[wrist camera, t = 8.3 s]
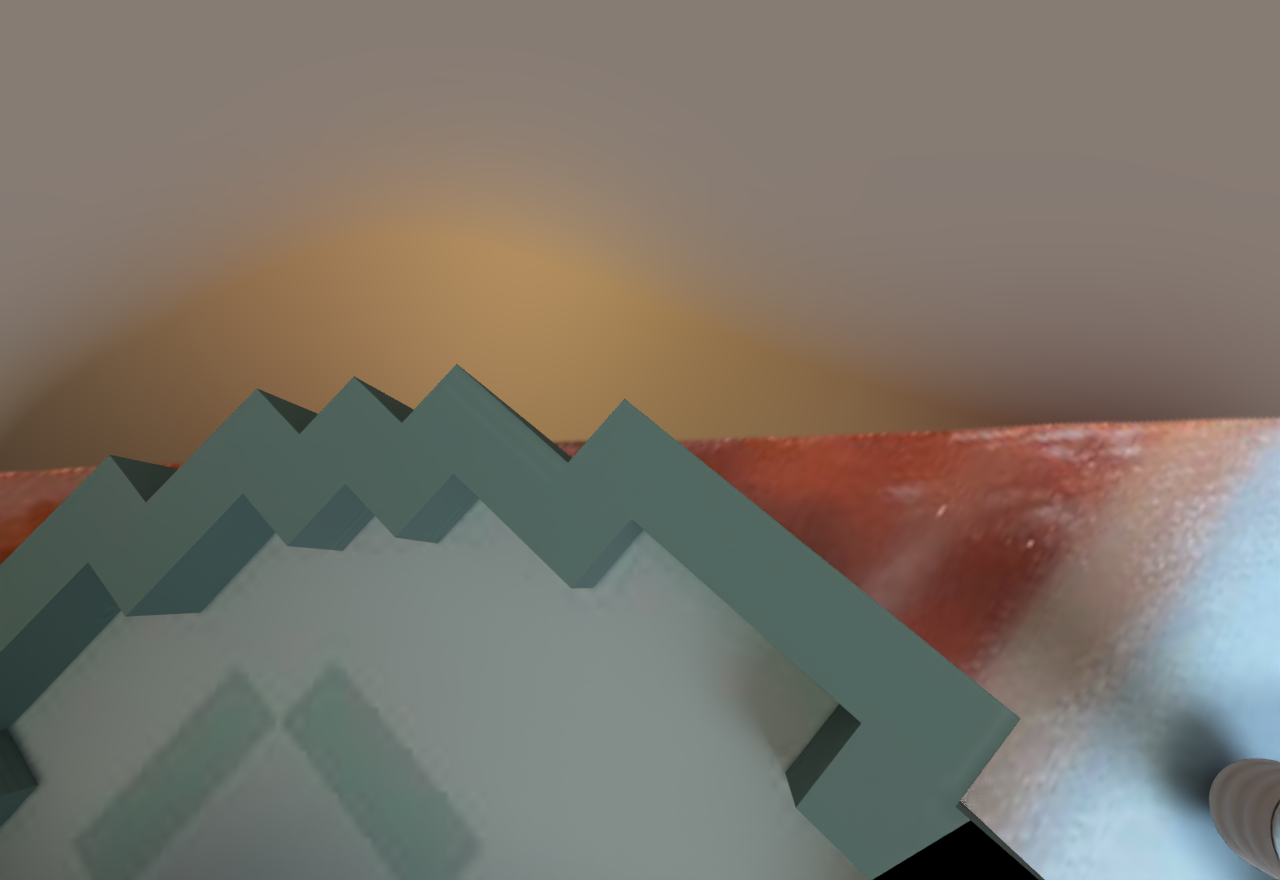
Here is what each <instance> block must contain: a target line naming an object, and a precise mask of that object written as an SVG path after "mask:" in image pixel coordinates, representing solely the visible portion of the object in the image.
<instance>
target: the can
mask: <svg viewBox="0 0 1280 880" xmlns="http://www.w3.org/2000/svg"><path fill="white" fill-rule="evenodd" d="M1019 720H1020V718H1019V717H1018V716H1017V715H1015V714H1014V713H1013V712H1012V711H1010V710H1009V709H1008V708H1007V707H1005V706H1004V705H1003V704H1002V703H1001V702H999V701H998V700H997V699H996V698H994V697H993V696H992V695H991V694H989V693H988V692H987V691H986V690H984V689H983V688H982V687H981V686H979V685H978V684H977V683H976V682H975V681H973V680H972V679H971V678H970V677H968V676H967V675H966V674H965V673H963V672H962V671H961V670H960V669H958V668H957V667H956V666H955V665H953V664H952V663H951V662H950V661H949V660H947V659H946V658H945V657H944V656H942V655H941V654H940V653H939V652H937V651H936V650H935V649H934V648H932V647H931V646H930V645H929V644H927V643H926V642H925V641H924V640H923V639H921V638H920V637H919V636H918V635H916V634H915V633H914V632H913V631H911V630H910V629H909V628H908V627H906V626H905V625H904V624H903V623H901V622H900V621H899V620H898V619H897V618H895V617H894V616H893V615H892V614H890V613H889V612H888V611H887V610H885V609H884V608H883V607H882V606H880V605H879V604H878V603H877V602H876V601H874V600H873V599H872V598H871V597H869V596H868V595H867V594H866V593H864V592H863V591H862V590H861V589H859V588H858V587H857V586H856V585H854V584H853V583H852V582H851V581H850V580H848V579H847V578H846V577H845V576H843V575H842V574H841V573H840V572H838V571H837V570H836V569H835V568H833V567H832V566H831V565H830V564H828V563H827V562H826V561H825V560H824V559H822V558H821V557H820V556H819V555H817V554H816V553H815V552H814V551H812V550H811V549H810V548H809V547H807V546H806V545H805V544H804V543H802V542H801V541H800V540H799V539H798V538H796V537H795V536H794V535H793V534H791V533H790V532H789V531H788V530H786V529H785V528H784V527H783V526H781V525H780V524H779V523H778V522H777V521H775V520H774V519H773V518H772V517H770V516H769V515H768V514H767V513H765V512H764V511H763V510H762V509H760V508H759V507H758V506H757V505H755V504H754V503H753V502H752V501H751V500H749V499H748V498H747V497H746V496H744V495H743V494H742V493H741V492H739V491H738V490H737V489H736V488H734V487H733V486H732V485H731V484H729V483H728V482H727V481H726V480H725V479H723V478H722V477H721V476H720V475H718V474H717V473H716V472H715V471H713V470H712V469H711V468H710V467H708V466H707V465H706V464H705V463H703V462H702V461H701V460H700V459H699V458H697V457H696V456H695V455H694V454H692V453H691V452H690V451H689V450H687V449H686V448H685V447H684V446H682V445H681V444H680V443H679V442H678V441H676V440H675V439H674V438H673V437H671V436H670V435H669V434H667V433H666V432H665V431H664V430H663V429H661V428H660V427H659V426H658V425H656V424H655V423H654V422H653V421H652V420H650V419H649V418H648V417H647V416H645V415H644V414H643V413H642V412H640V411H639V410H638V409H637V408H635V407H634V406H633V405H632V404H630V403H629V402H628V401H627V400H626V399H624V400H623V401H622V402H621V403H620V405H619V406H618V407H617V408H616V409H615V410H614V411H613V412H612V414H611V415H610V416H609V417H608V418H607V420H605V422H604V423H603V424H602V425H601V426H600V427H599V429H597V431H596V432H595V433H594V434H593V435H592V436H591V437H590V438H589V440H588V441H587V442H586V443H585V444H584V445H583V446H582V447H581V449H580V450H579V451H578V452H577V453H576V454H575V455H574V456H573V458H572V457H570V456H569V455H568V454H567V453H565V452H564V451H563V450H562V449H561V448H559V447H558V446H557V445H556V444H554V443H553V442H552V441H551V440H550V439H548V438H547V437H546V436H545V435H543V434H542V433H541V432H539V431H538V430H537V429H536V428H535V427H534V426H532V425H531V424H530V423H528V422H527V421H526V420H525V419H524V418H523V417H521V416H520V415H519V414H518V413H516V412H515V411H514V410H512V409H511V408H510V407H509V406H508V405H507V404H505V403H504V402H503V401H502V400H500V399H499V398H498V397H497V396H495V395H494V394H493V393H492V392H490V391H489V390H488V389H487V388H486V387H484V386H483V385H482V384H481V383H479V382H478V381H477V380H476V379H475V378H473V377H472V376H471V375H470V374H468V373H467V372H466V371H465V370H464V369H462V368H461V367H460V366H459V365H457V364H456V365H455V366H454V368H453V369H452V370H451V371H450V372H449V373H448V374H447V375H446V376H445V377H444V378H443V379H442V380H441V381H440V383H439V384H438V385H437V386H436V387H435V388H434V389H433V390H432V391H431V392H430V393H429V395H428V396H427V397H426V398H425V399H424V400H423V401H422V402H421V403H420V404H419V405H418V406H417V407H416V408H415V409H414V410H413V409H411V408H410V407H408V406H406V405H404V404H402V403H401V402H399V401H397V400H395V399H394V398H392V397H390V396H388V395H386V394H385V393H383V392H381V391H379V390H377V389H376V388H374V387H372V386H370V385H368V384H366V383H365V382H363V381H361V380H359V379H358V378H356V377H353V379H351V380H350V381H349V382H348V384H347V385H346V386H345V387H344V388H343V389H342V390H341V391H340V392H339V393H338V394H337V395H336V396H335V397H334V398H333V399H332V400H331V401H330V402H329V403H328V405H327V406H326V407H325V408H324V409H323V410H322V411H321V412H320V413H319V414H317V413H314V412H312V411H310V410H307V409H305V408H302V407H300V406H298V405H295V404H293V403H290V402H288V401H286V400H283V399H281V398H278V397H276V396H273V395H271V394H269V393H266V392H264V391H262V390H259V389H256V390H255V391H254V392H253V393H252V394H251V395H250V396H249V397H248V398H247V399H246V400H245V401H244V402H243V403H242V404H241V405H240V406H239V407H238V408H237V409H236V410H235V412H233V413H232V415H231V416H230V417H229V418H228V419H227V420H226V421H225V422H224V423H223V424H222V425H221V426H220V427H219V428H218V429H217V430H216V431H215V432H214V433H213V434H212V435H211V436H210V437H209V438H208V439H207V440H206V441H205V442H204V443H203V444H202V445H201V446H200V448H198V449H197V450H196V452H195V453H194V454H193V455H192V456H191V457H190V458H189V459H188V460H187V461H186V462H185V463H184V464H183V465H182V466H181V467H180V468H179V469H175V468H170V467H165V466H160V465H156V464H151V463H146V462H141V461H137V460H132V459H127V458H122V457H118V456H112V455H109V456H108V457H107V458H106V459H105V460H104V461H103V462H102V463H101V464H100V465H99V466H98V467H97V468H96V469H95V470H94V471H93V472H92V473H91V474H90V475H89V476H88V477H87V478H86V479H85V480H84V481H83V482H82V483H81V484H80V485H79V486H78V487H77V488H76V489H75V490H74V491H73V492H72V493H71V494H70V495H69V496H68V497H67V498H66V499H65V500H64V501H63V502H62V503H61V504H60V505H59V507H58V508H57V509H56V510H55V511H54V512H53V513H52V514H51V515H50V516H49V517H48V518H47V519H46V520H45V521H44V522H43V523H42V524H41V525H40V526H39V527H38V528H37V529H36V530H35V531H34V532H33V533H32V534H31V535H30V536H29V537H28V538H27V539H26V540H25V541H24V542H23V543H22V544H21V545H20V546H19V547H18V548H17V549H16V550H15V551H14V552H13V553H12V554H11V555H10V556H9V557H8V558H7V559H6V560H5V561H4V562H3V563H2V564H1V565H0V880H1044V879H1043V878H1042V877H1041V876H1040V875H1039V874H1038V873H1037V872H1036V871H1035V870H1034V869H1032V868H1031V867H1030V866H1029V865H1028V864H1027V863H1026V862H1025V861H1024V860H1023V859H1022V858H1021V857H1020V856H1018V855H1017V854H1016V853H1015V852H1014V851H1013V850H1012V849H1011V848H1010V847H1009V846H1008V845H1007V844H1006V843H1005V842H1003V841H1002V840H1001V839H1000V838H999V837H998V836H997V835H996V834H995V833H994V832H993V831H992V830H991V829H989V828H988V827H987V826H986V825H985V824H984V823H983V822H982V821H981V820H980V819H979V818H978V817H977V816H976V815H974V814H973V813H972V812H971V811H970V810H969V809H968V808H967V807H966V806H965V805H964V804H963V803H962V802H961V801H960V800H961V799H962V797H963V796H964V795H965V793H966V792H967V791H968V789H969V788H970V786H971V785H972V784H973V782H974V781H975V780H976V778H977V777H978V776H979V774H980V773H981V772H982V770H983V769H984V768H985V766H986V765H987V764H988V762H989V761H990V760H991V758H992V757H993V755H994V754H995V753H996V751H997V750H998V749H999V747H1000V746H1001V745H1002V743H1003V742H1004V741H1005V739H1006V738H1007V737H1008V735H1009V734H1010V733H1011V731H1012V730H1013V729H1014V727H1015V726H1016V725H1017V723H1018V722H1019Z"/></svg>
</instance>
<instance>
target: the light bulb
mask: <svg viewBox="0 0 1280 880" xmlns="http://www.w3.org/2000/svg"><path fill="white" fill-rule="evenodd" d="M1209 806H1210V812H1211V816H1212V820H1213V822H1214V825H1215V827H1216V829H1217V831H1218V833H1219V834H1220V836H1221V837H1222V839H1223V840H1224V841H1225V843H1226V844H1227V845H1228V846H1229V847H1230V848H1231V849H1232V850H1233V851H1234V852H1235V853H1236V854H1237V855H1238V856H1239V857H1240V858H1242V859H1243V860H1245V861H1246V862H1247V863H1249V864H1251V865H1252V866H1254V867H1256V868H1258V869H1260V870H1262V871H1264V872H1265V873H1267V874H1268V875H1270V876H1272V877H1273V878H1275V879H1277V880H1280V762H1278V761H1274V760H1268V759H1244V760H1240V761H1237V762H1234V763H1232V764H1230V765H1228V766H1227V767H1225V768H1224V769H1223V770H1221V771H1220V773H1219V774H1218V775H1217V776H1216V778H1215V779H1214V781H1213V783H1212V786H1211V789H1210V795H1209Z"/></svg>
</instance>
